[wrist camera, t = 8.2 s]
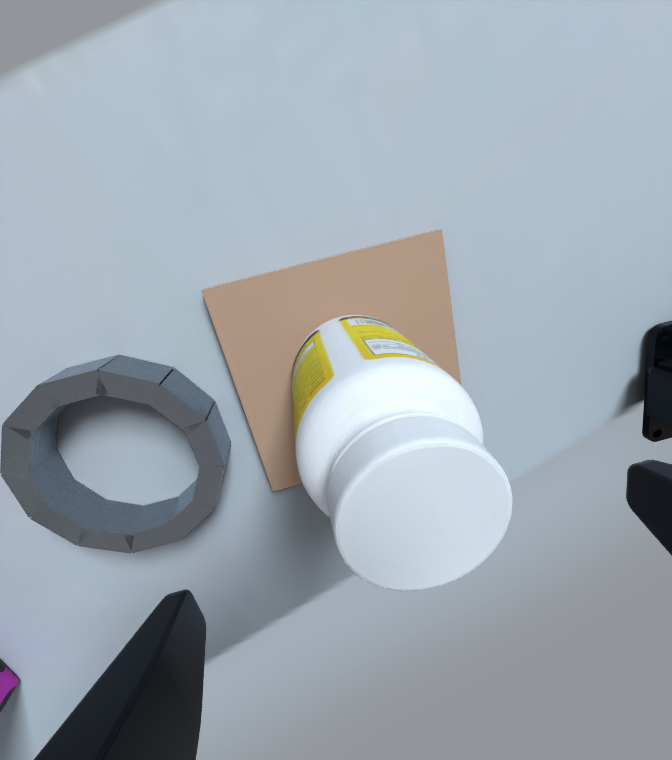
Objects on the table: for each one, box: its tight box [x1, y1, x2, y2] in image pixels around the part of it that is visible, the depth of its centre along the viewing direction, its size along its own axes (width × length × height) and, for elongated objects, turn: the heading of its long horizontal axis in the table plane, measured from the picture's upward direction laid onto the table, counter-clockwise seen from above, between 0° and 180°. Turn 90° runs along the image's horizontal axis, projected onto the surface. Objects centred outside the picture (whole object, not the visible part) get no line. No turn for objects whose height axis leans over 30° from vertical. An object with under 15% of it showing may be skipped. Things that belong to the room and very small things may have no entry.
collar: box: [0, 355, 231, 553], centre depth 17 cm, size 8×8×2 cm
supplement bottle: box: [292, 315, 512, 591], centre depth 13 cm, size 5×5×10 cm
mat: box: [202, 230, 461, 492], centre depth 18 cm, size 10×10×1 cm
